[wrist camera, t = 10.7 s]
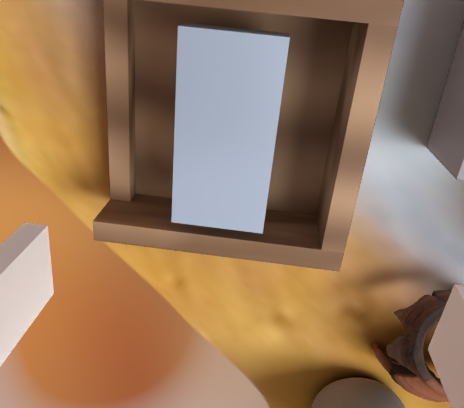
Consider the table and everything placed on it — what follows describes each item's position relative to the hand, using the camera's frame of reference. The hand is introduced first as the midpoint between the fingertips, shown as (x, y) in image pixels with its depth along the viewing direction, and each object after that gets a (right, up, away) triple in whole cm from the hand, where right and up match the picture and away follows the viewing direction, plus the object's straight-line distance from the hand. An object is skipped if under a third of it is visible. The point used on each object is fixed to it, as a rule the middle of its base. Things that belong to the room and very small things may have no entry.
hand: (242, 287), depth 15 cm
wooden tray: (0, +9, +17) cm, 20 cm away
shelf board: (-1, +8, +14) cm, 16 cm away
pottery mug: (+17, -8, +25) cm, 31 cm away
